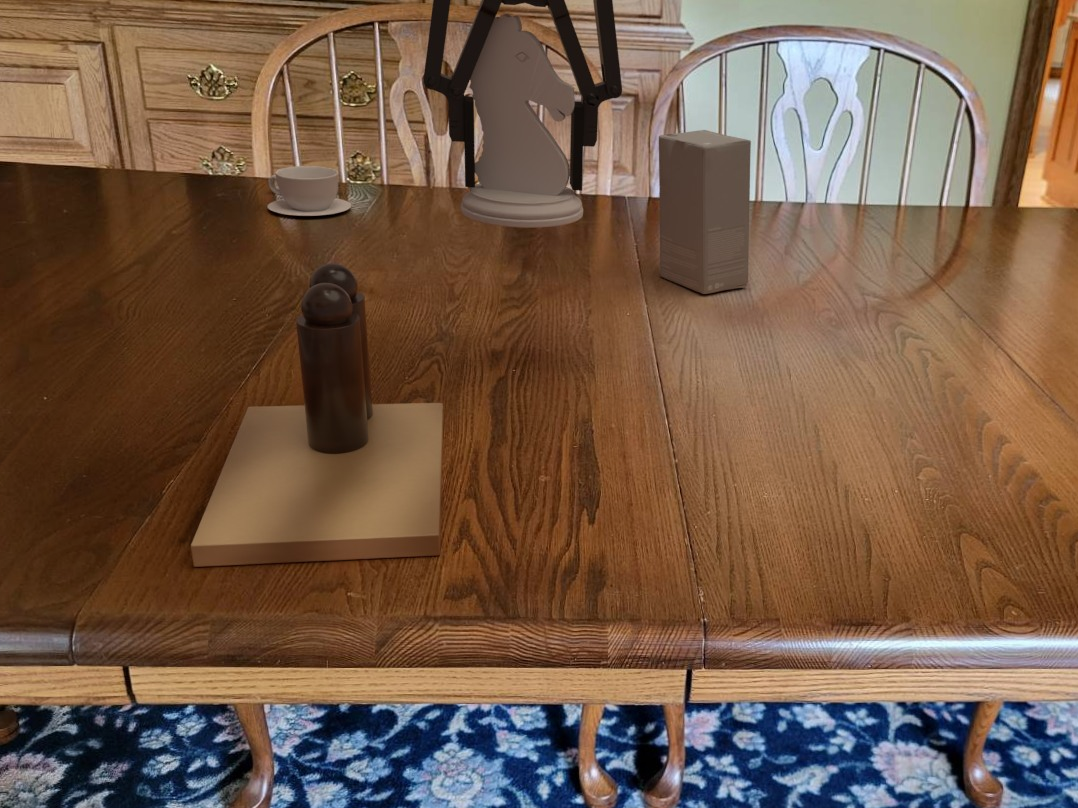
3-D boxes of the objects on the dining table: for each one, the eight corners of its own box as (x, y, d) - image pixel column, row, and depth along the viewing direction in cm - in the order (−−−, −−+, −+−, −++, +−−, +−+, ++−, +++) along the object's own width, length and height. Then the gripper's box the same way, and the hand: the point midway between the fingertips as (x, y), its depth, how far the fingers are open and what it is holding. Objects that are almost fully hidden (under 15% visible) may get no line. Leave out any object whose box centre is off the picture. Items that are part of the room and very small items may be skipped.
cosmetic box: (748, 288, 120) (761, 140, 113) (696, 298, 116) (706, 144, 109) (701, 268, 126) (711, 126, 119) (650, 276, 122) (656, 129, 115)
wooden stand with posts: (193, 567, 64) (160, 360, 58) (250, 424, 82) (228, 255, 76) (440, 556, 67) (431, 357, 61) (443, 420, 84) (436, 256, 79)
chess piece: (567, 233, 85) (570, 25, 78) (443, 220, 86) (437, 14, 79) (594, 205, 94) (599, 16, 87) (482, 194, 94) (479, 6, 88)
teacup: (364, 204, 142) (361, 167, 140) (331, 222, 133) (328, 183, 131) (289, 197, 143) (286, 160, 141) (252, 215, 134) (248, 176, 132)
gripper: (657, -121, 84) (642, 179, 94) (379, -146, 80) (393, 171, 90) (674, -123, 78) (656, 199, 87) (372, -150, 73) (388, 191, 83)
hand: (523, 184), depth 89 cm, fingers closed on chess piece, 8 cm apart
